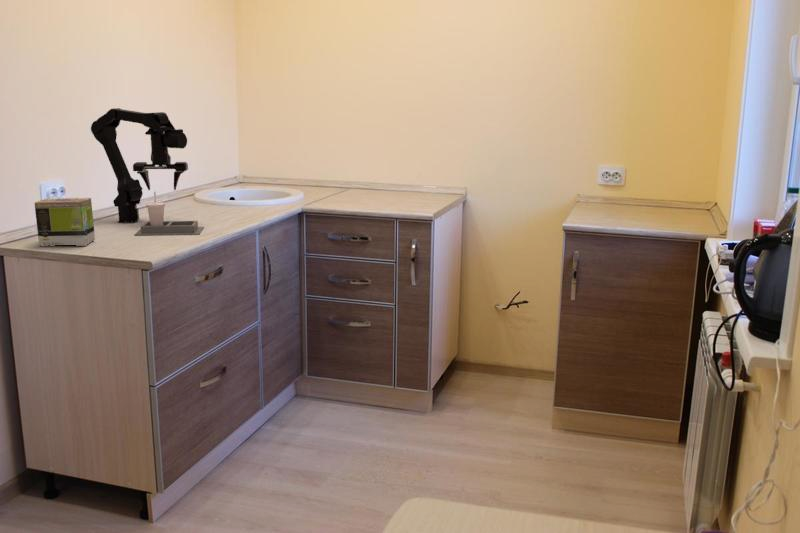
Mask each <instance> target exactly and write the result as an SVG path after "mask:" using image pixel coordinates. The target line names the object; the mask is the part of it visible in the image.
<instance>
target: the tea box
mask: <svg viewBox="0 0 800 533" xmlns="http://www.w3.org/2000/svg"><path fill="white" fill-rule="evenodd" d="M92 204H93V203H92V198H91V197H61V198H60V197H58V198H57V197H56V198H50V197H48V198H44V199H41V200H39V201H36V202H34V210H35V212H34V213H35V220H36V227H37V236H38V245H42V246H41V247H56V246H55V245H76V246H75V247H86V246H88V245H90V244H91V243H93V242H95V241H94V240H96V238H95V237H96V236H95V225H94V216H93V215H94V214H93V206H92ZM92 241H93V242H92ZM90 242H91V243H90ZM89 243H90V244H89ZM87 244H88V245H87ZM44 245H46V246H44ZM48 245H50V246H48Z"/></svg>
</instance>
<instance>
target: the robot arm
mask: <svg viewBox="0 0 800 533" xmlns="http://www.w3.org/2000/svg"><path fill="white" fill-rule="evenodd" d="M121 121H124V122H131V123H136V124H141V125H143V127H146V128H149V129H147V131H146V132H145V133H144V134H145V135H146V136H147V135H149V136H150V145H151V146H150V147H151V152H150V153H151V154H150V161H151V163H147V161H136V162H135V163H134V164H132V171H133V172H136V174H139V175H140V176H141V178H142V180H143V181H144V183H145V185H146V187H147V190H148V191H150V190H151V184H150V177H149V170H175V171H173V191H176V190H177V186H178V183H179V179H180V177H181V174H183V173H185V172H186V171H188V170H189V165H188V162H187V161H176V162H174V163H172V162H171V161H172V160H171V158H172V157H171V155H170V154H169V150H168V149H182V150H183V149H185V148H186V146H187V145H188V138H187V136H186V134H185V133H184V130H183V129H182V128H178V129H176V128H175V126H174V125H173V123H172V121H170V118H169V116H168V114H167V113H166V112H163V111H162V112H159V111H158V112H141V111H135V110H130V109H129V110H128V109H122V108H119V107H118V108H110V109H109V110H108V111H106V113H105V114H102V116H100V117H98V118H97V120H94V121H93V122H92V124H91V126H90V132H91V133H92V135H93V137H94V138H95V140H96V141H97V142H99V144H101V145H102V148H103V149H104V152H105V154H106V157H107V158H108V161H109V163H110V165H111V168H112V171H113V173H114V175H115V178H116V180H117V186H116V188H117V189H116V190H117V191H116V192H117V196H116V197H115V198H114V199H113V201H112V203H113V205H114V207H117V210H118V221H117V223H136V222H137V221H139V220H140V213H139V212H140V211H139V208H138V206H137V205H140V204H141V199H142V198H143V197H142V196H144V195H143V194H144V193H143V189H144V188H143V187H142V185H141V183H140V181H139V179H137V178H136V179H134V178H133V177H132V176H131V174H130V172H129V170H128V166H127V165H126V162H125V160H124V159H125V158H124V157H123V155H122V152H121V150H120V148H119V145H118V143H117V135H118V133H117V128H118V127H119V126H120V124H121Z"/></svg>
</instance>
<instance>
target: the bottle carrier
mask: <svg viewBox="0 0 800 533" xmlns="http://www.w3.org/2000/svg"><path fill="white" fill-rule="evenodd" d="M204 229H205V226H199V222H198V220H172V221H171V220H168V221H164V220H163V226H151V223H150V221H145V222H144V223H143V224H141V226H140V228H139V230H138V231H137V232H136V233H134V236H135V237H140V236H146V237H148V236H200V235H201V233H202V231H203V230H204Z"/></svg>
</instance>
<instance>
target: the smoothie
mask: <svg viewBox="0 0 800 533" xmlns="http://www.w3.org/2000/svg"><path fill="white" fill-rule="evenodd" d="M153 199H154V202H148V203H146V204H145V205H146V206H145V207H146V208H147V213H148V219H149V222H150V223H151V226H163V221H164V216H165V207H166V203H165V202H162V201H161V202H157V194H156V191H153Z"/></svg>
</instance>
